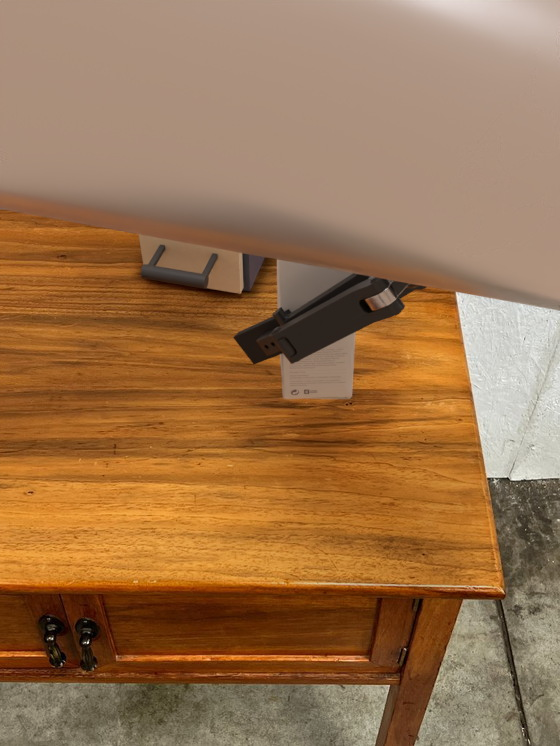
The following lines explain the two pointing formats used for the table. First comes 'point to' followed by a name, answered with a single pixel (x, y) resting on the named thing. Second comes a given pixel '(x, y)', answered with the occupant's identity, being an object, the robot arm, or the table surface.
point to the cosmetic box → (327, 366)
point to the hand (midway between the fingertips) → (282, 311)
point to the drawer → (191, 264)
